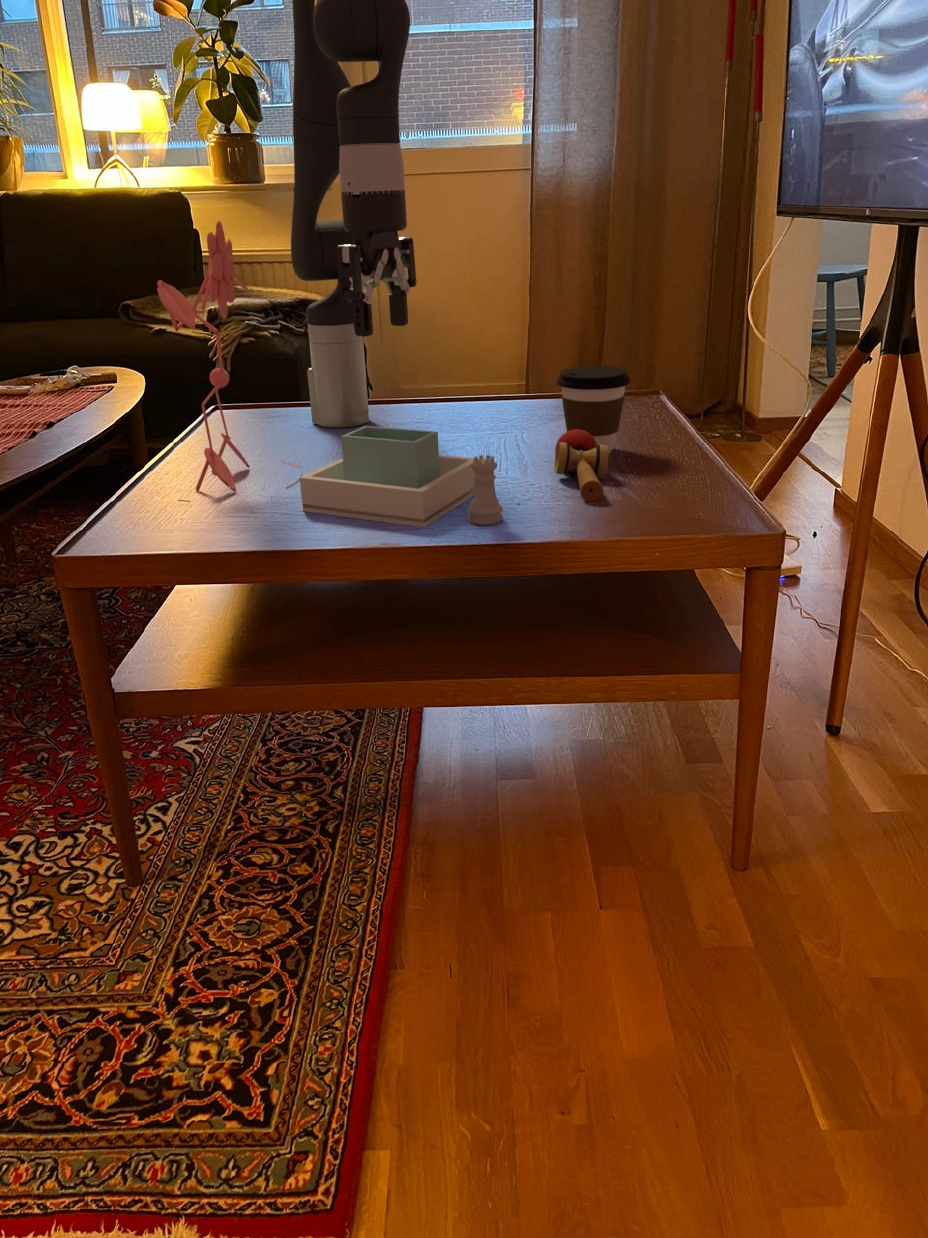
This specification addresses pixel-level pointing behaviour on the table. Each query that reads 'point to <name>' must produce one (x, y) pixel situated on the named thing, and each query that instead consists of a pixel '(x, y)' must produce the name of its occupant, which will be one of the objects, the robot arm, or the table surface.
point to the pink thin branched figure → (181, 309)
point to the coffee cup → (594, 400)
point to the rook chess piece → (484, 493)
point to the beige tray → (388, 494)
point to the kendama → (582, 461)
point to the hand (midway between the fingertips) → (382, 330)
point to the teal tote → (391, 456)
